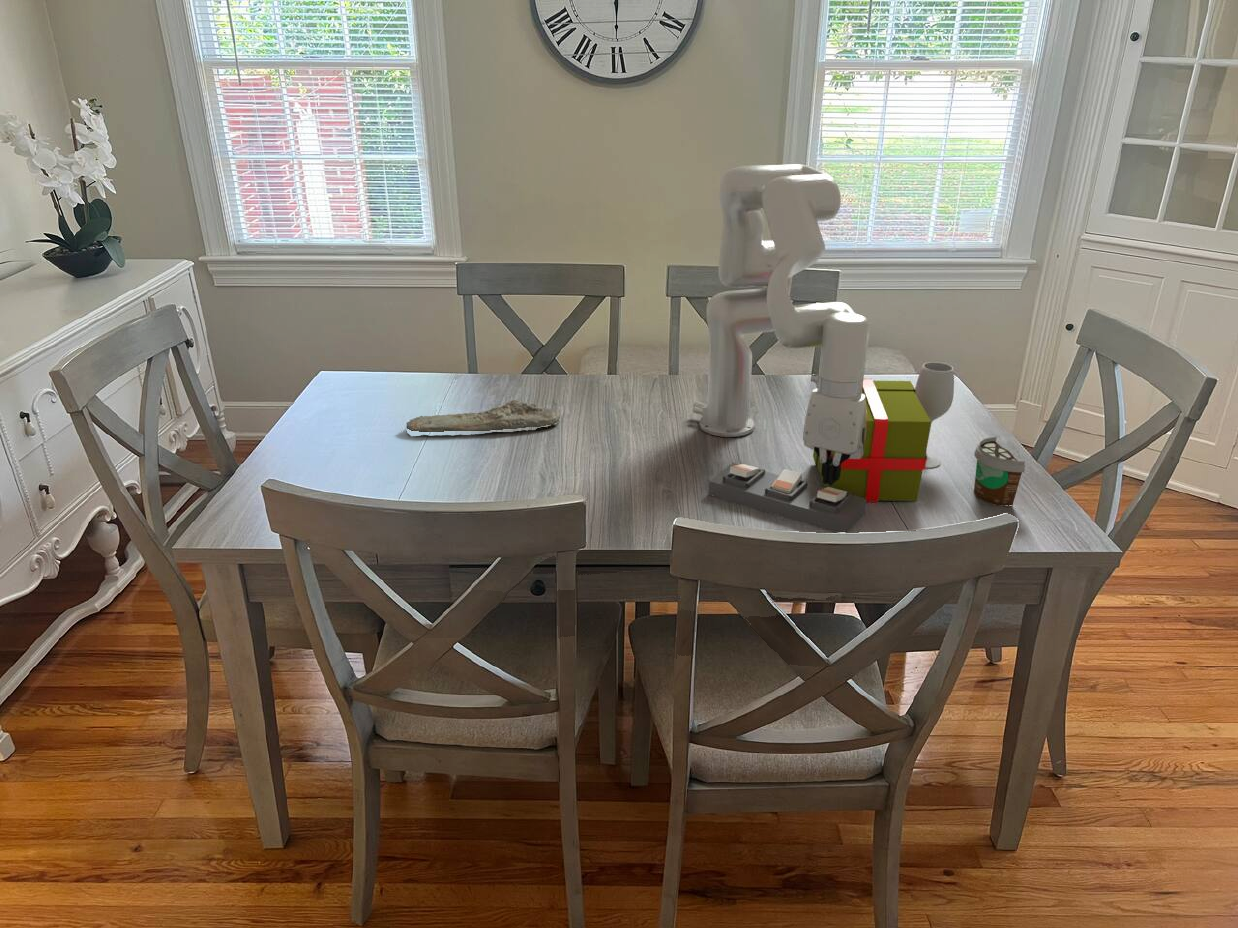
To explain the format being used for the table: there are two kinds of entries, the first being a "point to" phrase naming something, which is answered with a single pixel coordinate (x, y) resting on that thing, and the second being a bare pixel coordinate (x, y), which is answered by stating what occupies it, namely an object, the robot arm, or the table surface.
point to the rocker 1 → (744, 470)
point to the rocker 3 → (831, 494)
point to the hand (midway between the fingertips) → (829, 481)
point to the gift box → (888, 445)
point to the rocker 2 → (787, 481)
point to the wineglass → (935, 394)
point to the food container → (996, 473)
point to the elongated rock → (488, 419)
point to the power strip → (788, 500)
